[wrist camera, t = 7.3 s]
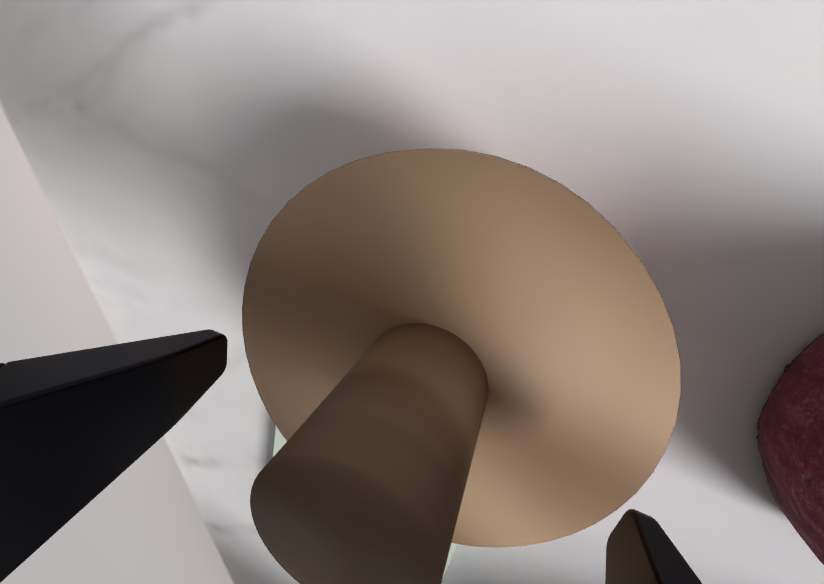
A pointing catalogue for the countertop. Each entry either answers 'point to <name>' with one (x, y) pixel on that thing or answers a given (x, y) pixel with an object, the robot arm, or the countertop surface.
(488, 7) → the countertop surface
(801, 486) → the vegetable
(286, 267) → the lid
